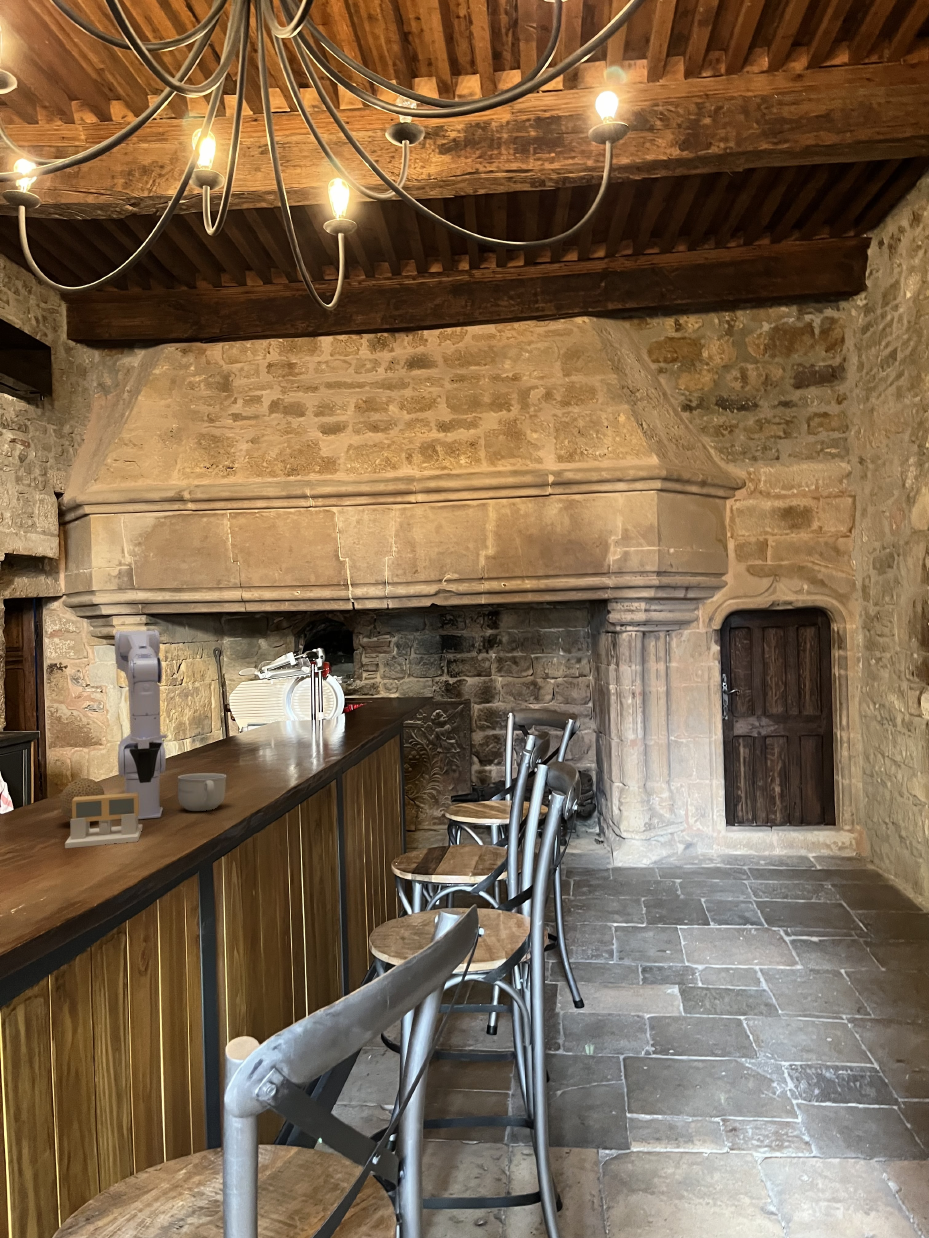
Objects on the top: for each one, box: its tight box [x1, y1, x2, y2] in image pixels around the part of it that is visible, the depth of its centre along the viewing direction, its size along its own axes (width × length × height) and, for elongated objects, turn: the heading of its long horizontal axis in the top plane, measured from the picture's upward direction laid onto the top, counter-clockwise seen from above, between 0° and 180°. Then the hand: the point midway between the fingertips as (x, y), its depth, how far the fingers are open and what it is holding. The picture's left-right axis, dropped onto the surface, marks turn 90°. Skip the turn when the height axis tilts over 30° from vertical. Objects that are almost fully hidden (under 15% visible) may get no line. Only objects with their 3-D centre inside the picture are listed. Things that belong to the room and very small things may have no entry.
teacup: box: [177, 772, 227, 812], centre depth 186 cm, size 14×11×8 cm
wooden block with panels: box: [72, 792, 139, 822], centre depth 161 cm, size 3×12×4 cm, turn 108°
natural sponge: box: [59, 777, 106, 820], centre depth 174 cm, size 9×9×10 cm
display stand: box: [64, 814, 143, 849], centre depth 161 cm, size 11×13×5 cm
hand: (146, 779), depth 168 cm, fingers open, 7 cm apart
